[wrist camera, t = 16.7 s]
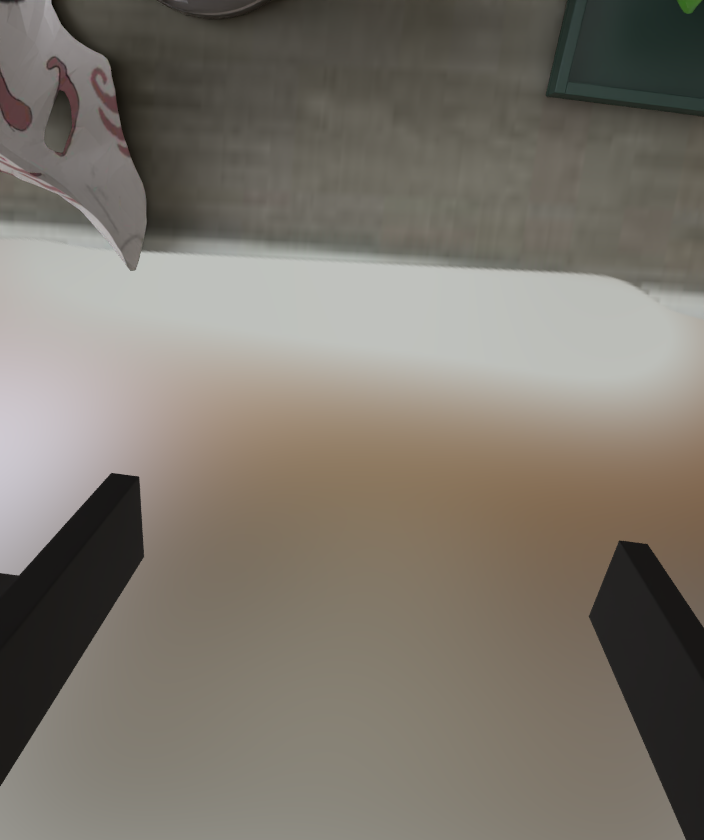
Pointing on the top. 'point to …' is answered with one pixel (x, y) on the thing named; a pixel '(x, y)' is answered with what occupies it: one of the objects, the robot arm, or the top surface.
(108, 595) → the robot arm
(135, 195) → the mask
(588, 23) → the tray
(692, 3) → the sippy cup
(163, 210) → the top surface
